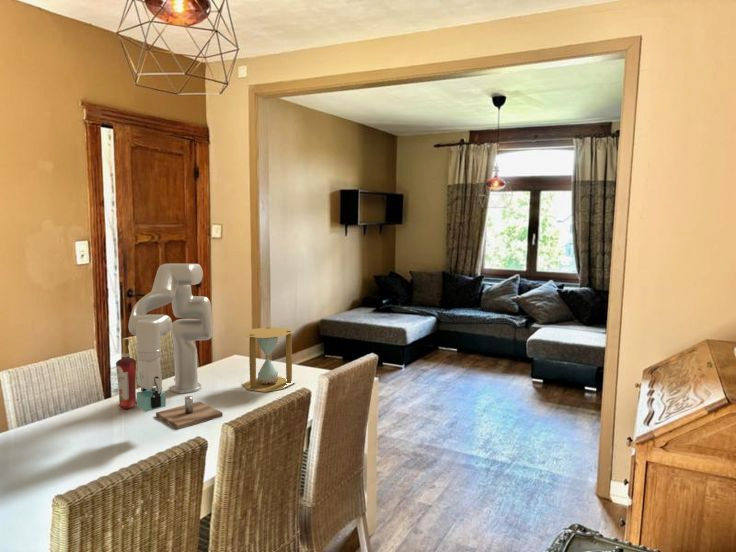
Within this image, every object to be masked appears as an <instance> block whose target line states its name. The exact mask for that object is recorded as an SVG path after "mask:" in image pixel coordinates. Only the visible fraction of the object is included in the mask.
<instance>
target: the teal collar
mask: <svg viewBox="0 0 736 552" xmlns="http://www.w3.org/2000/svg"><path fill="white" fill-rule="evenodd" d="M156 390H157V389H156ZM156 390H154V392H155V391H156ZM151 397H152V394H151V390H145V391H141V390H140V391H138V392H136V402H137V405H136V407H138V408H139V409H141V410H142V411H143V412H145V413H146V412H151V411H153V410H157V409H162V408H165V407H166V392H165V391H163V390H162V392H161V406H160V407H157V408H153V409H152V408H151Z"/></svg>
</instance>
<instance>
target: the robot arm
mask: <svg viewBox="0 0 736 552" xmlns="http://www.w3.org/2000/svg"><path fill="white" fill-rule="evenodd" d="M203 277H204V272H203V268H202V266H201V265H200V264H199V263H163V264H161V265H160V266H159V267H158V269H157V271H156V274H155V278H154V280H153V281H154V282H153V285H152V289H151V291H150V292H149V293H147V294H145V295H144V296H143V297H141V298H140V299H139V300H138V301H137V302H136V303H135V304H134V306H133V307H132V310H131V313H130V316H129V320H128V325H127V326H128V330H129V333H130V334H131V335H133V336H136V337H135V338H136V356H137V360H136V361H137V363H136V384H137V385H138V386H140V392H141V391H145V390H151V394H152V397H151V408H152V409H153V408H157V407H160V406H161V392H162V391H163V387H162V386H163V384H162V383H163V377H162V368H161V367H162V366H161V359H162V351H161V350H162V349H161V346H162V345H161V337H163V336H164V337H165V336H167V335H168V334H169V333H170V332H171V336H172V337H171V338H172V342H173V353H174V355H173V356H174V357H173V359H174V360H173V361H174V379H173V380H174V385H172V387H171V391H172V392H174V393H177V394H178V393H179V394H185V393H187V394H189V393H193V392H194V393H195V392H196V391H200V389H202V384H201V383H200V382H198V381H199V380H198V352H197V351H198V349H197V346H195V343H193V342H194V341H207V340H210V339H211V338H212V336H213V334H214V327H213V325H214V324H213V315H212V305H211V304H212V303H211V301H210V299H209V298H208V297H207V296H204V295H202V296H201V295H198V296H197V295H193V293H192V286H194V285H199V284H200V283H201V282H202V281H203ZM170 303H171V307H172V313H173V315H174V317H175V318H179V319H176V320H174V321H172V318H171V317H170V316H169V315H167V314H160V313H159V314H158V313H157V314H155V313H154V314H152V313H151V314H148V312H151V311H153V310H155V309H159V308H162V307H165V306H167V305H168V304H170ZM156 389H157V390H156ZM154 390H156V391H155V392H154Z"/></svg>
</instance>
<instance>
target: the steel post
mask: <svg viewBox="0 0 736 552" xmlns="http://www.w3.org/2000/svg"><path fill="white" fill-rule="evenodd" d="M193 403H194V397H193V396H192V395H187V396H185V397H184V405H185V413H186V414H191V413H193Z"/></svg>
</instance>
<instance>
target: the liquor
mask: <svg viewBox="0 0 736 552" xmlns="http://www.w3.org/2000/svg"><path fill="white" fill-rule="evenodd" d="M120 340H121V349H122V351H121V358H120V359H118V360H117V361H116V362H115V368H116V379H117V388H118V400H119V401H118V402H119V404H118V406H117V407H119V408H120V409H122V410H123V409H124V411H128V409H129V410H133V409H134V408H135V407H137V392H136V391H137V389H136V388H137V387H136V386H137V360H136V359H134V358H132V357H131V355H130V349H129V345H130V339H129V338H122V339H120Z"/></svg>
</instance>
